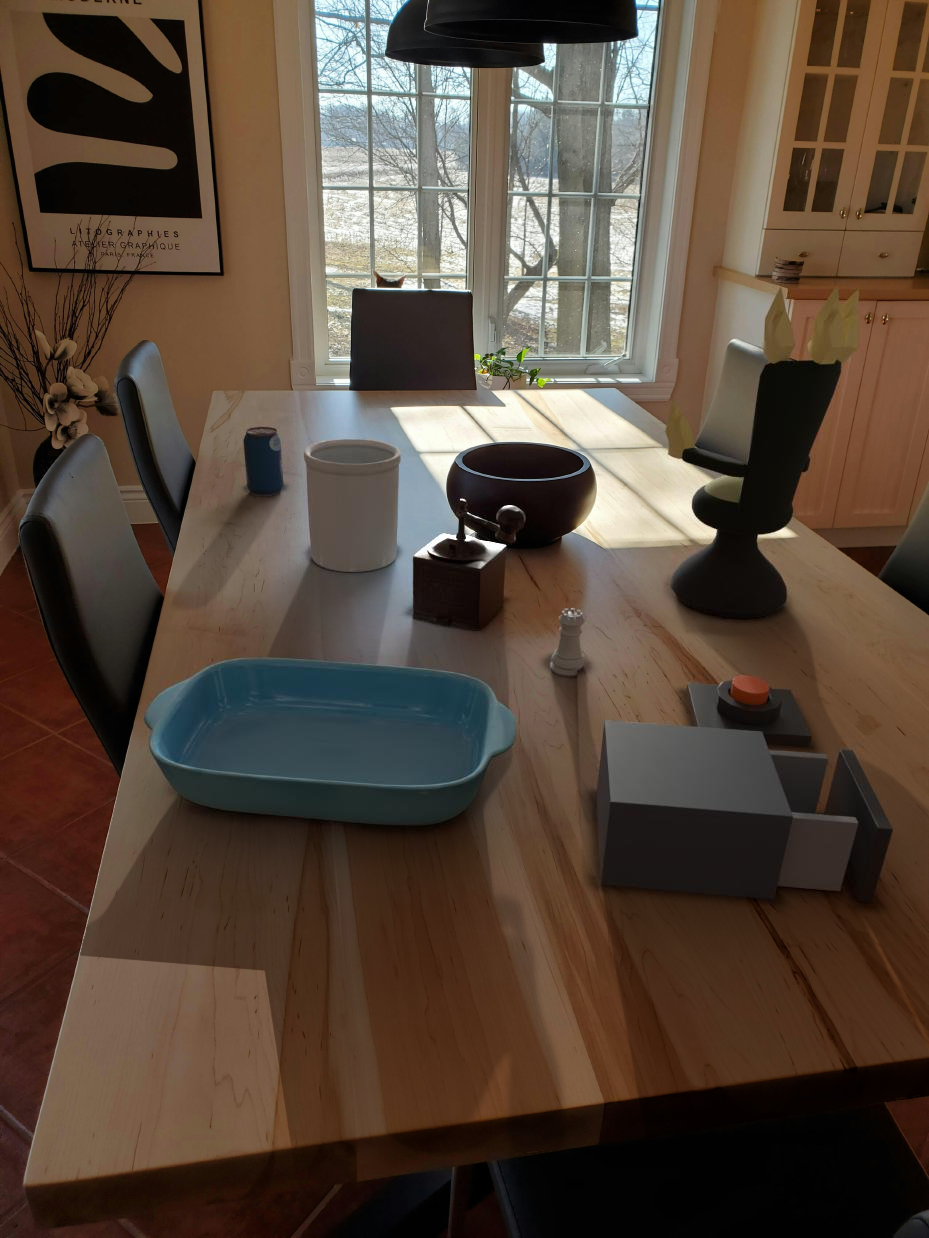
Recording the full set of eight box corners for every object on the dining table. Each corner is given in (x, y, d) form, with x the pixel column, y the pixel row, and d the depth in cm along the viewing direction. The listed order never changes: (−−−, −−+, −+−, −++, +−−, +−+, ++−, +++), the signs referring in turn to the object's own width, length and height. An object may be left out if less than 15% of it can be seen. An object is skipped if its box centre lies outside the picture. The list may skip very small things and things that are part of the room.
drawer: (848, 818, 86) (866, 750, 83) (886, 904, 76) (908, 830, 72) (692, 806, 87) (704, 738, 84) (709, 888, 77) (723, 815, 74)
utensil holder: (386, 536, 154) (385, 435, 146) (413, 568, 141) (413, 459, 134) (301, 545, 149) (295, 441, 141) (320, 579, 137) (315, 467, 129)
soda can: (291, 492, 174) (287, 430, 169) (261, 499, 170) (256, 437, 164) (270, 484, 178) (265, 424, 173) (240, 491, 174) (235, 429, 169)
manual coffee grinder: (407, 620, 125) (407, 496, 117) (439, 591, 134) (441, 474, 126) (513, 642, 119) (520, 513, 112) (538, 610, 129) (547, 489, 121)
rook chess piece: (560, 681, 110) (565, 622, 107) (543, 664, 114) (547, 608, 111) (591, 674, 112) (597, 617, 109) (573, 658, 116) (578, 602, 112)
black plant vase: (748, 568, 145) (801, 270, 125) (839, 628, 126) (919, 287, 106) (643, 580, 139) (681, 270, 120) (722, 644, 120) (783, 288, 101)
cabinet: (745, 814, 88) (762, 731, 84) (772, 907, 76) (793, 816, 72) (595, 802, 89) (604, 719, 85) (600, 891, 78) (610, 801, 73)
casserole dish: (516, 723, 101) (519, 668, 98) (509, 856, 81) (512, 791, 78) (196, 703, 104) (190, 648, 101) (113, 827, 84) (101, 763, 81)
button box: (787, 705, 106) (793, 676, 105) (808, 753, 98) (815, 722, 96) (684, 698, 107) (689, 669, 106) (695, 744, 98) (700, 713, 97)
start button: (763, 689, 103) (765, 676, 102) (770, 708, 99) (773, 694, 98) (727, 687, 103) (729, 674, 102) (733, 705, 99) (735, 691, 99)
